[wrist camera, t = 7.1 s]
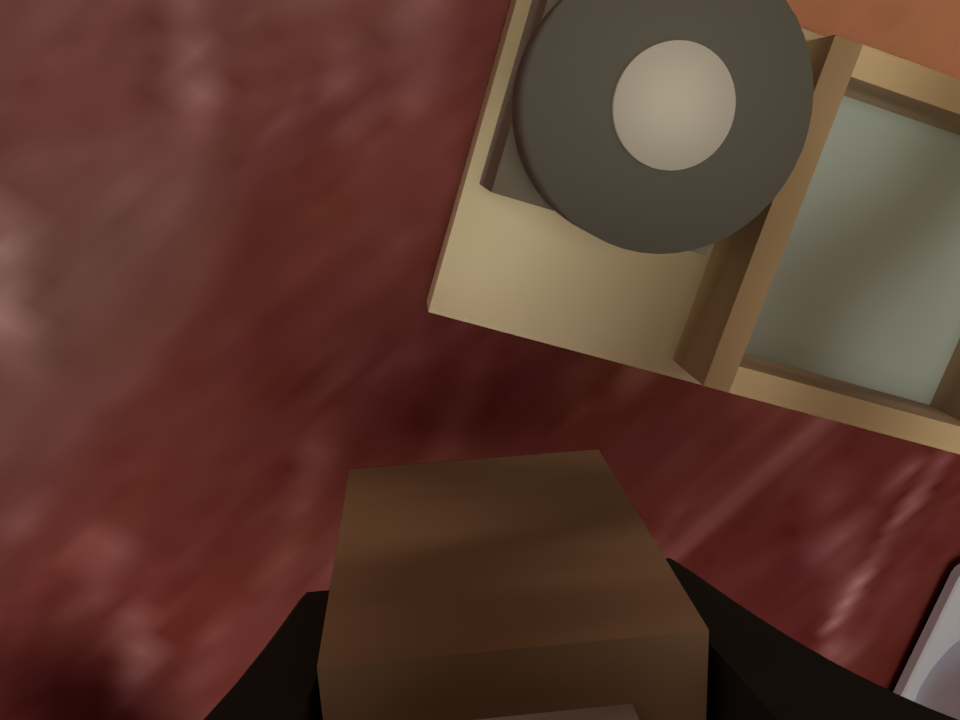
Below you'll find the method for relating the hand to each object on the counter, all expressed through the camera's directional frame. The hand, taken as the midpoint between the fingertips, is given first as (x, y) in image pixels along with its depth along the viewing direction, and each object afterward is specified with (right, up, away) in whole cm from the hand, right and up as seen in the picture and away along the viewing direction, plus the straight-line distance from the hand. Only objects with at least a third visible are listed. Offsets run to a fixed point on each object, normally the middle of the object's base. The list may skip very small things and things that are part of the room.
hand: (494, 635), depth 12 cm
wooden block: (0, 0, +2) cm, 2 cm away
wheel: (+3, +9, +5) cm, 11 cm away
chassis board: (+6, +7, +8) cm, 12 cm away
